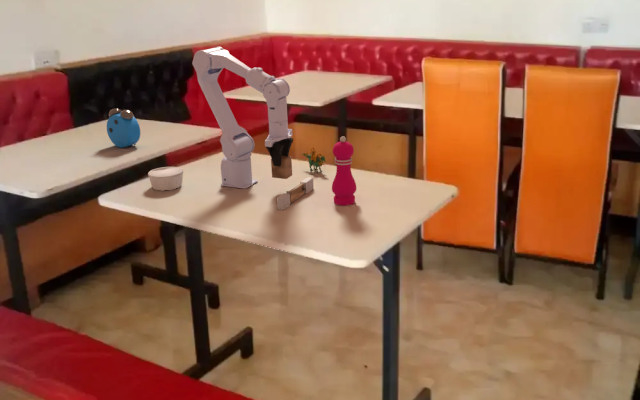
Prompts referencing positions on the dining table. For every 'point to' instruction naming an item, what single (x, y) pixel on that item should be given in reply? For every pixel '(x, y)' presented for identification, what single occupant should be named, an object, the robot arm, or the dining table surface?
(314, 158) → the figurine
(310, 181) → the wall frame
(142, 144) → the dining table surface
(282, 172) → the block
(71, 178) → the dining table surface
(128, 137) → the alarm clock
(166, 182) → the ramekin
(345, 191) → the pepper mill
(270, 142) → the robot arm
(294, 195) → the door
